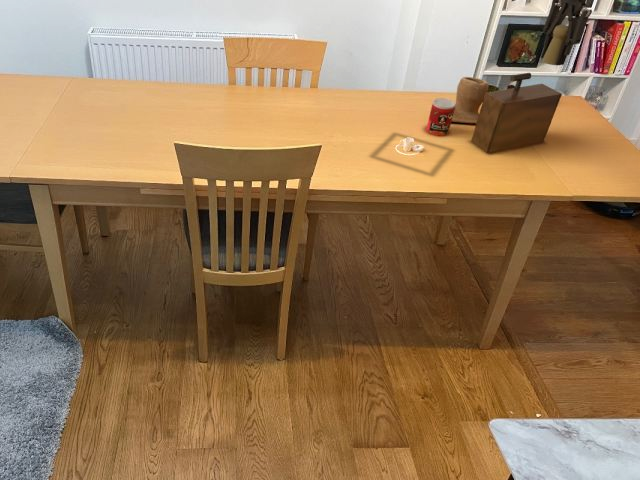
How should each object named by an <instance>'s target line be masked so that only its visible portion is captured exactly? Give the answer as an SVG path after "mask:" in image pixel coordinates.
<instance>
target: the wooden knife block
mask: <svg viewBox="0 0 640 480" xmlns="http://www.w3.org/2000/svg"><path fill="white" fill-rule="evenodd" d="M531 78H532V73H531V72H524V73H517V74H512V75H510V77H509V81H510V82H511V83H513V82H515V84H514V86H515V88H512V89H500V90H494V91H488V92H487V93H485V96H484V100H483V102H482V104H481V105H480V110H479V112H478V113H479V117H478V120H477V123H475V127H474V130H473V134H472V137H471V140H470V143H471V144H473V145H474V146H476V147H477V148H478V149H480V150H481V151H483V152H485V153H486V154H487V155H491V154H495V153H500V152H505V151H510V150H515V149H519V148H525V147H529V146H535V145H540V144H543V143H544V142H545V139H546V136H547V134H548V132H549V129H550V126H551V124H552V122H553V119H554V117H555V114H556V110H557V108H558V106H559V103H560V100H561V98H562V95H563V93H561V91H557V90H556V89H554V88H552V87H550V86H548V85H546V84H545V83H537V84H532V85H525V86H522V84H523V81H526V80H530V79H531Z"/></svg>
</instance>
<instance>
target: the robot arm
mask: <svg viewBox="0 0 640 480" xmlns="http://www.w3.org/2000/svg"><path fill="white" fill-rule="evenodd" d="M592 13H593V10H592V9H589V8H587V0H552V1H551V7H550V10H549V12H548V16H547V18H546V20H545V24H544V25H543V28H542V33H544V34H545V39H544V42H543V49H542V52H541V55H540V58H541V59H543V57H544V55H545V53H546V51H547V49H548V47H549V45H550V43H551V41H552V39H553V37H554V35H553V31H554V29H555V27H556V26H558V25H562V24H563V22H564V20H565V18H566V17H567V20H568V25H567V26H568V31H567V39H566V43H564V44H563V46H562V49H561V51H560V54H559V57H558V60H557V62H556V65H555V66H564V65H565V63H566V60H567V57H568V56H569V55H570V54H571V51H572V50H573V47H574V45H579V44H581V41H582V39H583V37H584V32H585V30H586V26H587V24H588V20H589V18H590V16H591V15H592Z"/></svg>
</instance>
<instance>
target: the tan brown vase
mask: <svg viewBox="0 0 640 480" xmlns="http://www.w3.org/2000/svg"><path fill="white" fill-rule="evenodd" d="M457 84H458V85H457V87H456V99H455V104H456V105H455V110H454V113H453V117H452V121H451V123H452V122H453V123H461V124H462V123H463V124H464V123H465V124H476V123H477V120H478V117H479V113H480V112H479V111H480V110H479V109H480V108H481V106H482V103H483V100H484V96H485V93H487V92H489V86H490V85H489V82H488V81H486V80H484V79H481V78H478V77H472V76H464V77H461V79H460V81H459V82H458V83H457Z"/></svg>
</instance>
